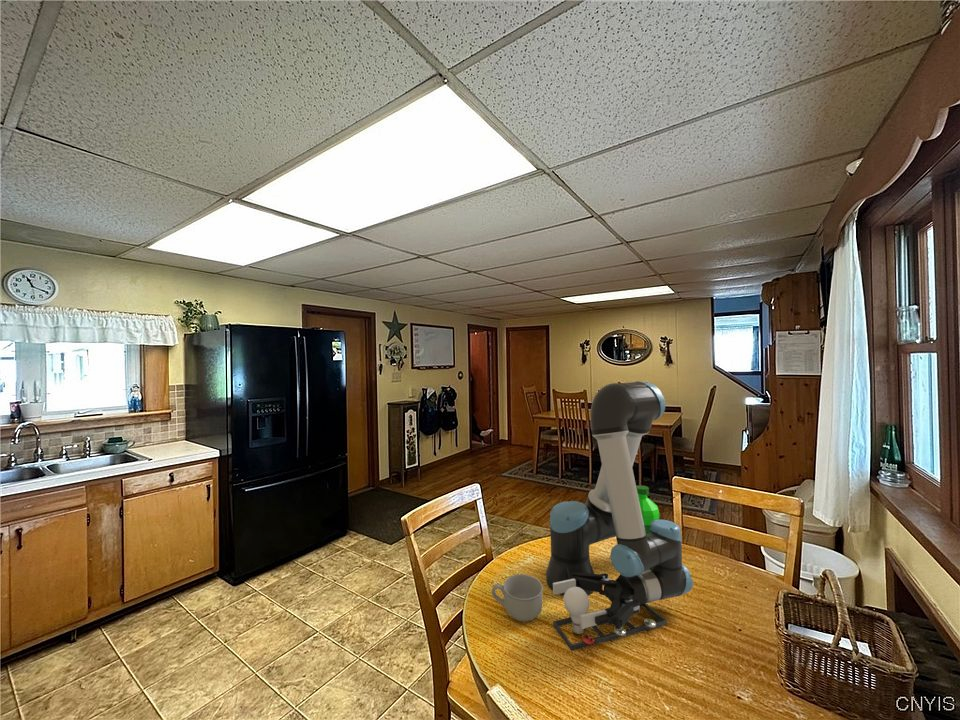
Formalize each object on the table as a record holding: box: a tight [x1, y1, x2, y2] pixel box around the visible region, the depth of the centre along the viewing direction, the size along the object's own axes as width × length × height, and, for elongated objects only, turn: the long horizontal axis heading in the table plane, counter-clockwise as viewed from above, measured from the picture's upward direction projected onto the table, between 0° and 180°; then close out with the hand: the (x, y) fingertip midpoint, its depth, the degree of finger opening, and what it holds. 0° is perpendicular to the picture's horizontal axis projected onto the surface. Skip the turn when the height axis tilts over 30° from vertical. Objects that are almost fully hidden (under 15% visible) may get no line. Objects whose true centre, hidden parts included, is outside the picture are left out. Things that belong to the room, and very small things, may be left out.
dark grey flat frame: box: [552, 603, 667, 652], centre depth 97 cm, size 10×28×2 cm, turn 107°
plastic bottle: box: [636, 485, 660, 534], centre depth 129 cm, size 10×10×25 cm
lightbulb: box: [563, 587, 590, 635], centre depth 95 cm, size 6×6×11 cm
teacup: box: [491, 573, 544, 622], centre depth 103 cm, size 14×11×8 cm
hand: (566, 604), depth 94 cm, fingers open, 13 cm apart
